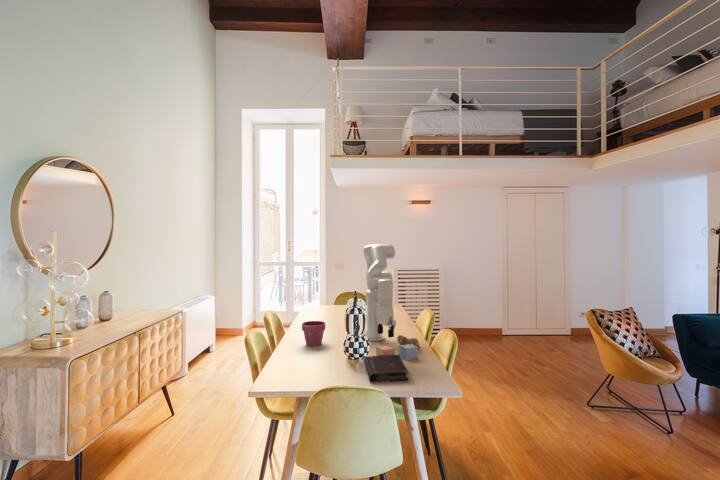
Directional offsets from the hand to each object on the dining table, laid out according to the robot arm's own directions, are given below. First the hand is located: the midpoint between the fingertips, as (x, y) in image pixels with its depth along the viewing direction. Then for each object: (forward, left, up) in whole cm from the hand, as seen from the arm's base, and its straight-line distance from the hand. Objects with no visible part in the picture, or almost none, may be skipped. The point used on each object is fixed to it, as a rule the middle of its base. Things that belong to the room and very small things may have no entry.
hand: (385, 335), depth 205 cm
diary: (+16, -11, -14) cm, 23 cm away
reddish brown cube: (-1, 0, -13) cm, 13 cm away
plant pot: (-48, -20, -13) cm, 53 cm away
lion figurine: (-7, +21, -13) cm, 26 cm away
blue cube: (+3, +12, -13) cm, 18 cm away
